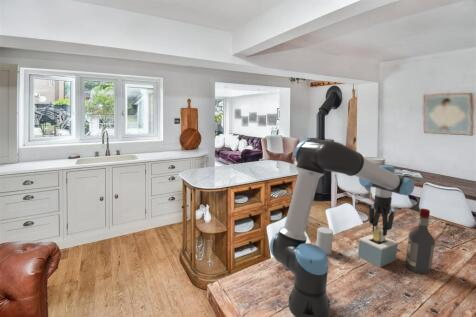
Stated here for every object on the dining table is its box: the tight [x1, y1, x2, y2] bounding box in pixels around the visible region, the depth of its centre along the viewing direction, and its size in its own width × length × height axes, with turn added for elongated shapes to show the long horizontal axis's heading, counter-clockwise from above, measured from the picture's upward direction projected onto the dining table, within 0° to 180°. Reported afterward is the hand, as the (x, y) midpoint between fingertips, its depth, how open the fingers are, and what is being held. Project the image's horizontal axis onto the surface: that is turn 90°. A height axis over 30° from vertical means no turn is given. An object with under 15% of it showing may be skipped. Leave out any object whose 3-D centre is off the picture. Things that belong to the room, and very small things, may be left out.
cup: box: [315, 226, 334, 256], centre depth 143 cm, size 8×8×12 cm
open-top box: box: [357, 233, 399, 268], centre depth 136 cm, size 14×12×10 cm
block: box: [372, 226, 383, 242], centre depth 135 cm, size 6×3×6 cm, turn 120°
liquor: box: [405, 208, 436, 275], centre depth 126 cm, size 9×9×30 cm
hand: (378, 239), depth 136 cm, fingers closed on block, 3 cm apart
